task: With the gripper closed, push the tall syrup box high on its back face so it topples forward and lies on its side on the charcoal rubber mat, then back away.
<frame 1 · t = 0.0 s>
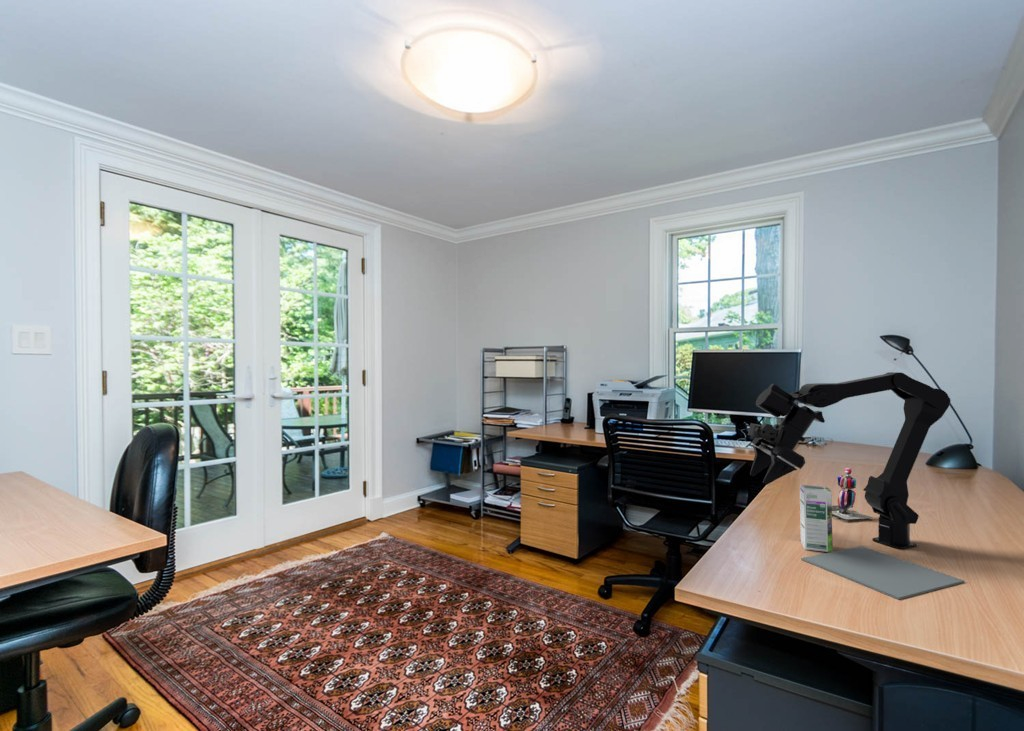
hand: (757, 479, 123), 15 cm above the table, fingers open, 9 cm apart
statue: (842, 516, 140), on the table
topple mat: (878, 570, 103), on the table
syrup box: (815, 548, 116), on the table
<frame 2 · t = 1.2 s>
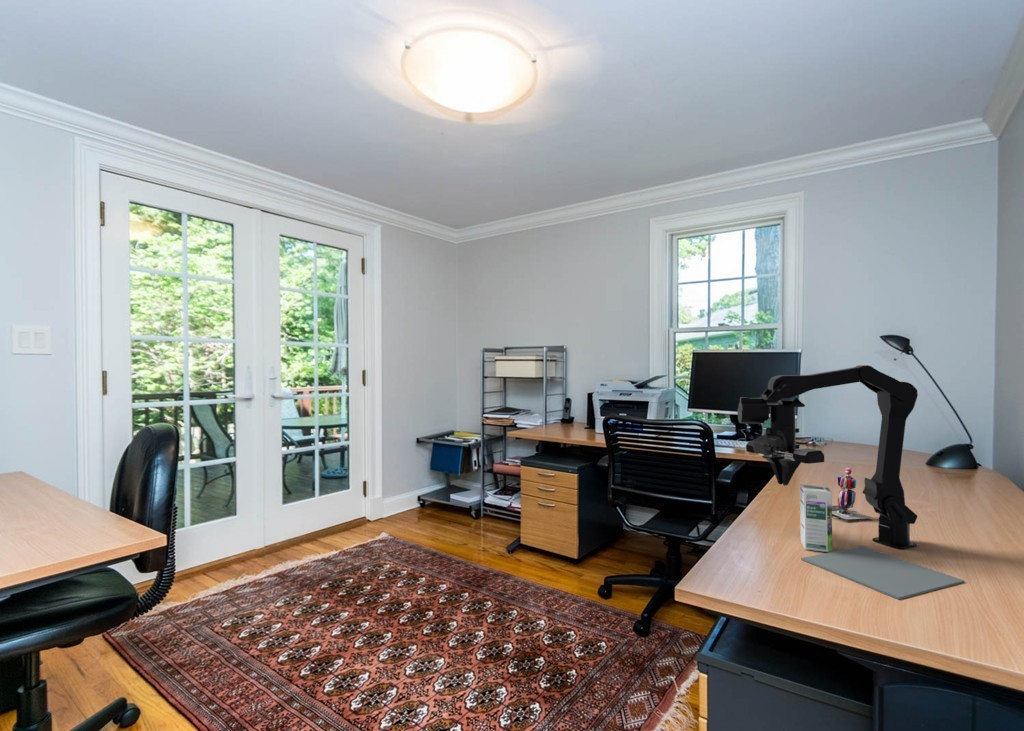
hand: (783, 484, 124), 13 cm above the table, fingers closed
nothing on the table moved.
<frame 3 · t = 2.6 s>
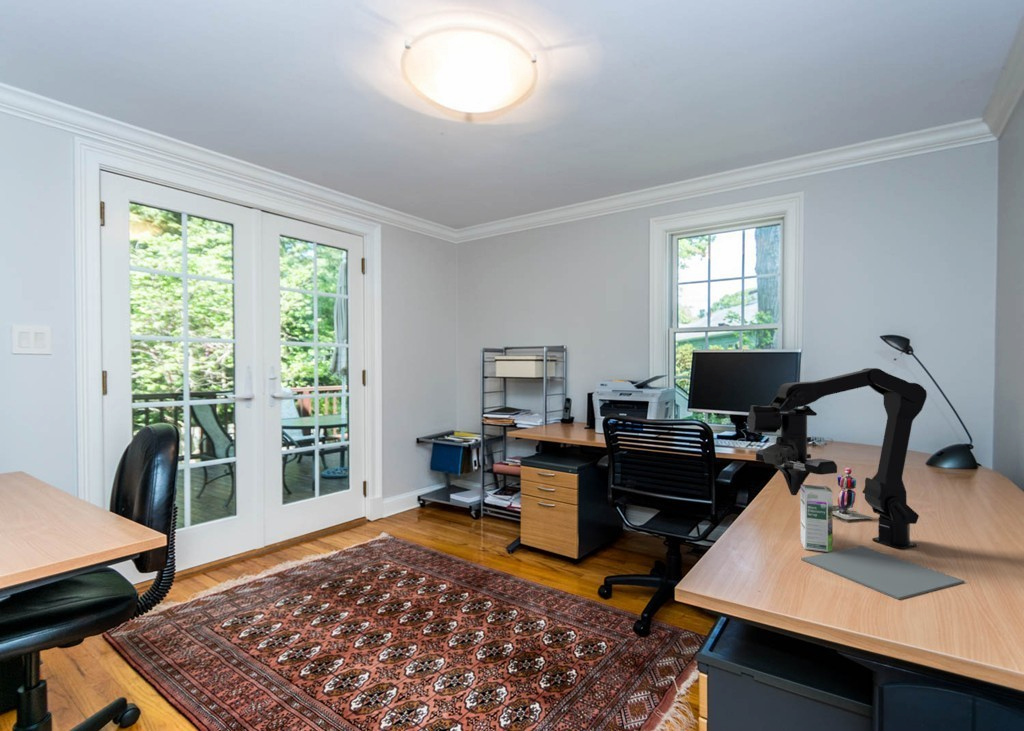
hand: (793, 495, 122), 11 cm above the table, fingers closed
syrup box: (815, 547, 116), on the table, touching gripper
everything else where it was.
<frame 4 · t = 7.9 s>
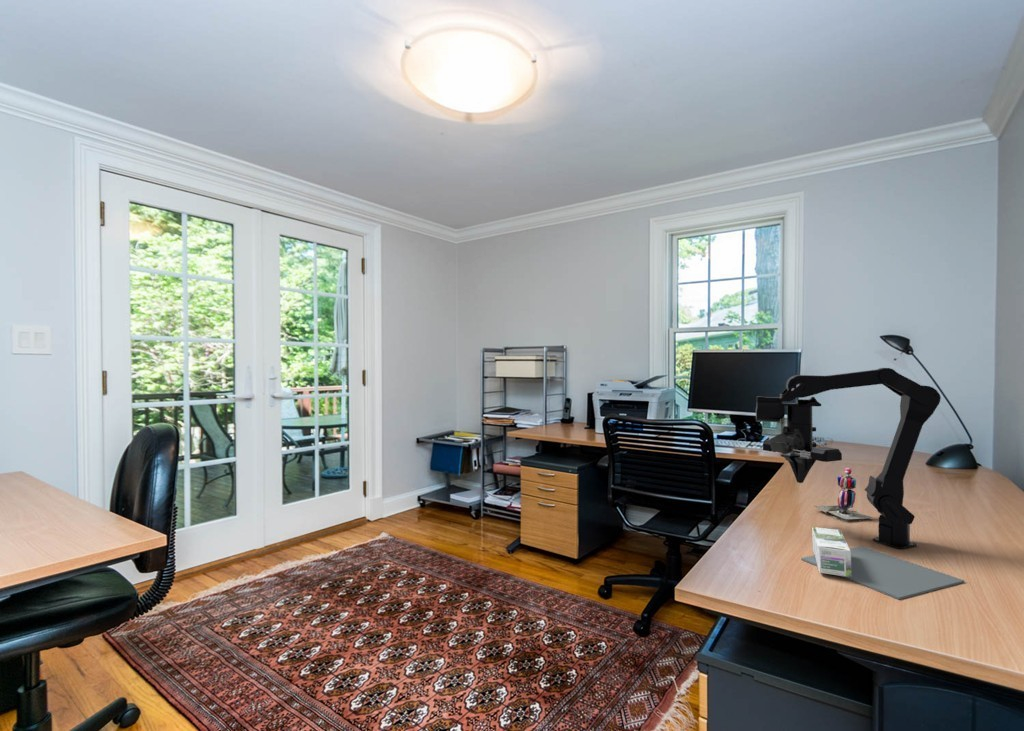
hand: (800, 482, 127), 13 cm above the table, fingers closed
syrup box: (826, 539, 112), point 3 cm above the table, touching topple mat
everything else where it was.
at the end: syrup box tilted 90°; syrup box touching topple mat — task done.
